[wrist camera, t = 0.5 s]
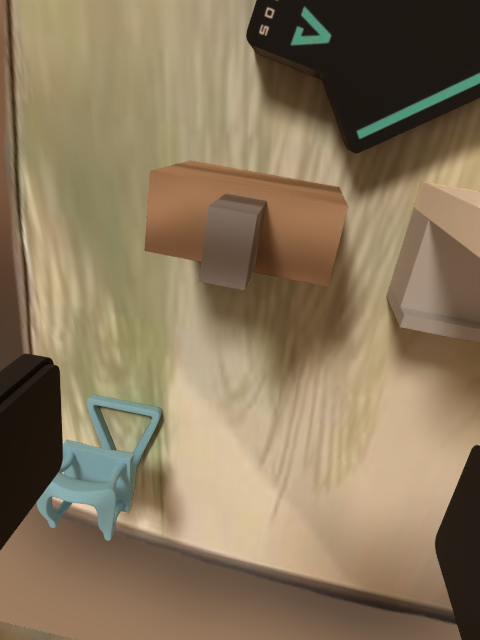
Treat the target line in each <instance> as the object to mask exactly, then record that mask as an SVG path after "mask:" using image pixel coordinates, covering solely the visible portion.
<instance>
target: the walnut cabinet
mask: <svg viewBox="0 0 480 640" xmlns="http://www.w3.org/2000/svg"><path fill="white" fill-rule="evenodd" d="M347 210H348V205H347V203H346V201H345V199H344V197H343V195H342V192H341V190H340V188H339V187H335V186H329V185H324V184H318V183H313V182H307V181H302V180H296V179H291V178H285V177H279V176H274V175H268V174H263V173H257V172H252V171H246V170H240V169H235V168H229V167H224V166H218V165H213V164H207V163H202V162H196V161H187V162H183V163H179V164H175V165H171V166H167V167H163V168H159V169H155V170H152V171H150V181H149V195H148V209H147V223H146V237H145V251H148V252H153V253H159V254H164V255H169V256H174V257H179V258H184V259H189V260H194V261H199V262H201V267H200V275H199V282H204V283H209V284H214V285H219V286H224V287H229V288H234V289H239V290H244V291H245V288H246V286H247V283H248V281H249V279H250V276H251V274H252V272H255V273H260V274H265V275H271V276H276V277H281V278H286V279H291V280H296V281H301V282H306V283H311V284H316V285H321V286H327V287H328V286H329V282H330V278H331V274H332V270H333V266H334V262H335V258H336V254H337V250H338V246H339V242H340V238H341V234H342V230H343V226H344V222H345V218H346V214H347Z"/></svg>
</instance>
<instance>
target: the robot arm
mask: <svg viewBox="0 0 480 640" xmlns="http://www.w3.org/2000/svg"><path fill="white" fill-rule="evenodd" d="M62 462H63V441H62V416H61V391H60V371H59V367H58V366H56V365H54V363H53V361H52V359H51V358H48V357H43V356H37V355H32V354H23V355H21V356H20V357H19V358H18V359H16V360H15V361H14V362H12V363H11V364H10V365H8V366H7V367H6V368H4V369H3V370H2V371H1V372H0V550H1V549H2V547H3V546H4V545H5V543H6V542H7V541H8V539H9V538H10V537H11V535H12V534H13V533H14V531H15V530H16V529H17V527H18V526H19V525H20V523H21V522H22V521H23V519H24V518H25V516H26V515H27V514H28V513H29V511H30V510H31V509H32V507H33V506H34V504H35V503H36V502H37V501H38V499H39V498H40V497H41V495H42V494H43V493H44V491H45V490H46V489H47V487H48V486H49V485H50V483H51V482H52V481H53V479H54V478H55V477H56V475H57V474H58V472H59V470H60V468H61V465H62ZM435 549H436V554H437V558H438V561H439V565H440V568H441V571H442V575H443V578H444V581H445V585H446V588H447V591H448V595H449V598H450V602H451V605H452V608H453V612H454V615H455V618H456V622H457V625H458V628H459V632H460V635H461V638H462V640H480V446H479V445H475V446H474V447H473V448H472V450H471V452H470V455H469V457H468V459H467V462H466V464H465V467H464V469H463V472H462V474H461V477H460V479H459V481H458V484H457V486H456V489H455V491H454V494H453V496H452V498H451V501H450V503H449V506H448V508H447V511H446V513H445V515H444V518H443V520H442V523H441V525H440V528H439V530H438V532H437V535H436V540H435ZM0 640H76V639H72V638H68V637H64V636H60V635H55V634H51V633H47V632H43V631H39V630H34V629H30V628H26V627H21V626H17V625H13V624H9V623H4V622H1V621H0Z"/></svg>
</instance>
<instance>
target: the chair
mask: <svg viewBox="0 0 480 640" xmlns="http://www.w3.org/2000/svg"><path fill="white" fill-rule="evenodd" d="M98 406H103V407H108V408H113V409H118V410H122V411H127V412H132V413H137V414H142V415H146V416H150V417H152V420H151V422H150V424H149V425H148V427H147V429H146V431H145V432H144V434H143V436H142V438H141V439H140V441H139V443H138V445H137V447H136V448H135V450H134V452H133V454H132V453H127V452H122V451H116V449H115V446H114V443H113V441H112V438H111V436H110V433H109V431H108V428H107V426H106V424H105V421H104V419H103V416H102V414H101V412H100V409H99V407H98ZM87 407H88V411H89V413H90V416H91V419H92V422H93V424H94V427H95V429H96V432H97V434H98V437H99V439H100V442H101V445H102V448H103V449H102V448H97V447H92V446H89V445H86V444H83V443H79V442H74V441H69V440H66V441H65V443H64V444H63V462H62V465H61V468H60V470H59V472H58V474H57V475H56V477H55V478H54V479H53V481H52V482H51V483H50V485H49V486H48V487H47V489H46V490H45V491H44V493H43V494H42V495H41V497H40V498H39V499H38V501H37V507H38V510H39V511H40V513H41V514H42V515H43V516H44V517H45V518H46V519H47V521H48V523H49V525H50V527H51V528H55V527H56V525H57V523H58V521H59V519H60V517H61V516H62V515H63V514H64V513H65V511H66V510H67V509H68V508H69V507H70V506H71V504H72V503H81V504H88V505H91V506H94V507H95V509H96V510H97V515H98V525H99V528H100V530H101V531H102V532H103V534H104V537H105V539H106V540H107V541H109V540H110V539H111V537H112V535H113V532H114V530H115V525H116V520H117V517H118V515H119V513H120V512H121V511H124V512H128V513H129V511H130V509H131V507H132V499H133V494H134V488H135V480H136V469H137V467H138V465H139V463H140V460H141V457H142V455H143V452H144V450H145V448H146V446H147V444H148V442H149V440H150V438H151V436H152V434H153V432H154V430H155V429H156V426H157V424H158V422H159V420H160V417H161V414H162V410H161V409H160V408H159V407H154V406H149V405H144V404H139V403H134V402H128V401H123V400H118V399H113V398H108V397H103V396H98V395H91V396H90V397H89V398H88V400H87ZM62 472H64V474H62ZM52 497H56V498H59V499H61V500H64V501H63V502H62V504H61V505H60V507H59V508H58V509H57V511H55V510H54V508H53V505H52Z"/></svg>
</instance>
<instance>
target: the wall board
mask: <svg viewBox="0 0 480 640" xmlns="http://www.w3.org/2000/svg"><path fill="white" fill-rule="evenodd" d="M387 299H388V301H389V303H390V305H391V308H392V310H393V312H394V314H395V317H396V319H397V321H398V324H399V326H400V327H402V328H407V329H412V330H417V331H422V332H427V333H432V334H437V335H442V336H447V337H452V338H457V339H462V340H467V341H472V342H477V343H480V191H475V190H469V189H463V188H458V187H452V186H446V185H441V184H435V183H429V182H424V181H422V184H421V187H420V190H419V193H418V197H417V200H416V203H415V206H414V210H413V213H412V216H411V219H410V222H409V226H408V229H407V232H406V235H405V239H404V242H403V245H402V248H401V251H400V255H399V258H398V261H397V264H396V268H395V271H394V274H393V277H392V280H391V284H390V287H389V290H388V293H387Z"/></svg>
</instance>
